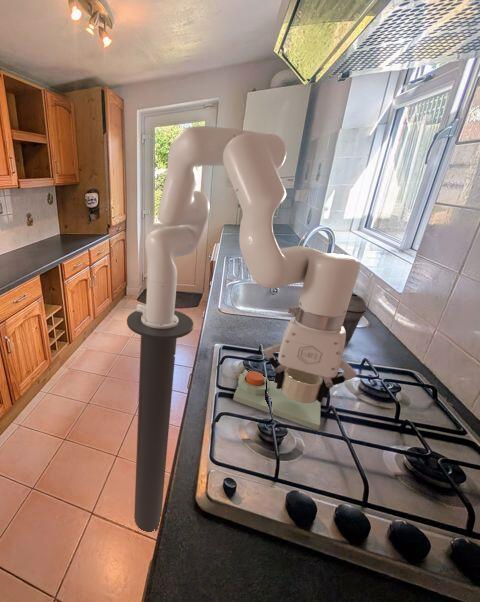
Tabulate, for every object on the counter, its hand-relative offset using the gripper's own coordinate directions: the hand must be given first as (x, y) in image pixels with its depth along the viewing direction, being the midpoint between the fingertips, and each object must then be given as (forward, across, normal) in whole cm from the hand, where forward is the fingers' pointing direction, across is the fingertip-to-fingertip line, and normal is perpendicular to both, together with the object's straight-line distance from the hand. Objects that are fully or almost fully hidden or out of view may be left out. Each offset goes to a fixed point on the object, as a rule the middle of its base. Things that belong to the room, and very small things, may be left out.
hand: (298, 391), depth 65 cm
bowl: (+1, 0, 0) cm, 1 cm away
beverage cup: (+4, +8, +38) cm, 39 cm away
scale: (+4, -4, 0) cm, 5 cm away
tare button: (+1, -9, 0) cm, 9 cm away
